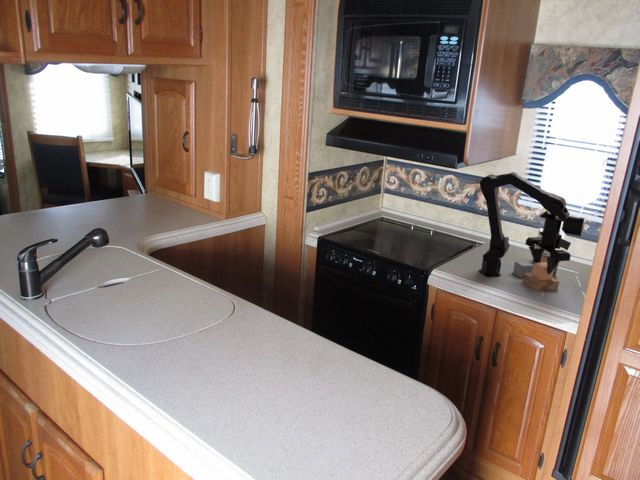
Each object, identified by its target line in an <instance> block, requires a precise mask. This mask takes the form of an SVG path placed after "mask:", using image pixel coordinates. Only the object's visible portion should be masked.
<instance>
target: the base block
mask: <svg viewBox="0 0 640 480" xmlns="http://www.w3.org/2000/svg"><path fill="white" fill-rule="evenodd" d="M532 274H533V272H532V273H524V276H523V278H522V283H523V284H525V285H526V286H528V287H529V288H531V289H532V290H534V291H535V292H537V293H538V292H551V291H558V289H559V285H560V280H558V279H557V278H553V277H552V280H539V279H538V278H536V277H534V276H533V275H532Z"/></svg>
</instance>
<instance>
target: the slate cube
mask: <svg viewBox="0 0 640 480" xmlns="http://www.w3.org/2000/svg"><path fill="white" fill-rule="evenodd" d="M513 265H514V266H513V270H512V273H513V274H514V275H516V276H517V277H518V278H522V279H523V276H524V273H533V269H534V264H532V263H530V262H529V261H527V260H519V261H518V260H517V261H516V260H515V261H514V264H513Z"/></svg>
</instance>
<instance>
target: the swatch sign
mask: <svg viewBox="0 0 640 480" xmlns="http://www.w3.org/2000/svg"><path fill="white" fill-rule="evenodd" d="M547 257H550V256H549V255H544V254H542V256H541V260H540V263H544V262H546V263H547ZM558 267H559V263H558V264H557V265H556V267H555V268H554V272H553V278H555V279H557V271H558Z"/></svg>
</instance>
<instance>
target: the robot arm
mask: <svg viewBox="0 0 640 480" xmlns="http://www.w3.org/2000/svg"><path fill="white" fill-rule="evenodd" d="M508 185H511V186H512V187H514V188H517V189H518V190H519V191H520V192H523V193H524V194H525V195H528V196H529V197H530V198H532V199H534V200H535V201H537V202H538V203H539V204H540V205H541V207H542V208H544V210H545V211H544V212H543V213H541V214H540V215H539V218H540V219H541V218H543V219H544V223H543V231H542V232H540V235H542V237H541V238H539V237H537V236H534V237H533V236H532V237H531V236H529V237H528V238H526V239H525V243H524V244H525V245H526V246H527V247H528V249H529V250H530V253H531V257H532V260H533V262H534V264H535V263H540V260H541V256H542V253H543V252H544V251H545V250H546V251H547V252H549V253H550V257H547V272H548V274H551V273H552V271H553V270H554V268H555V267H556V265H557V264H558V265H559V264H560V262H567V261H568V262H569V261H571V257H572V255H571V253H570V252H568V250H569V249H570V247H571V244H572V242H570V241H569V240H566V239H563V238H562V234H560V231H562V232H563V234H564V235H565V234H566V235H570V236H575V237H580V238H581V237H582V235H583V231H584V229H585V227H584V226H585V220H586V218H585V217H582V216H580V217H576V216H572V215H570V212H569V211H568V209H567V201H566V198H564V197H563V196H560V195H558V194H555V193H552V192H547V191H546V190H544V189H542V188H540V187H539V186H537V185H535V184H534V183H532V182H531V181H529V180H527V179H526V178H524V177H522V176H521V175H519V174H518V173H517V172H515V171H512V172H509V173H502V174H499V175H495V174H488V175H486V176H484V177H483V178H481V180H480V181H479V188H480V191H481V194H482V195H483V197H484V198H485V203H486V211H487V215H488V223H489V229H490V240H489V249H488V250H486V252H484V254H482V261H481V262H482V263H481V268H480V269H478V271H479V272H480V273H481V274H483V275H484V276H485V277H500V276H502V274H501V273H500V272H501V268H502V267H501V266H502V263H501V262H502V260H501V259H502V258H503V257H504V256H505V255H506V253H508V252H509V248H510V247H511V245H510V242H509V238H510V237H509V236H505V235H504V233H503V232H504V231H503V227H502V220H501V213H500V206H499V205H500V204H499V199H498V197H499V192H500V187H503V186H508ZM561 248H562V249H561Z"/></svg>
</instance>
